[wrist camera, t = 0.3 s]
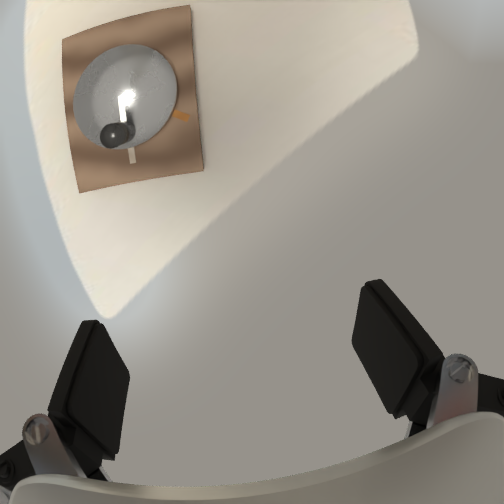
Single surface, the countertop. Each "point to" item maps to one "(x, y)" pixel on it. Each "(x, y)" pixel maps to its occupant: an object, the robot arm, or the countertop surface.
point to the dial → (125, 96)
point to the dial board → (176, 128)
